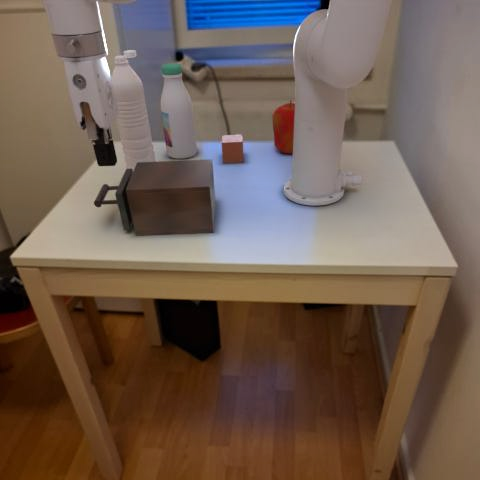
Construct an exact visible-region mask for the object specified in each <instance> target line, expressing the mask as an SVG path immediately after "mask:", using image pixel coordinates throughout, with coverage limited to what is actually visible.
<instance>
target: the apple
mask: <svg viewBox="0 0 480 480" xmlns="http://www.w3.org/2000/svg"><path fill="white" fill-rule="evenodd" d="M294 116H295V102H293V101H292V99H290V101H289V102H288V103H284V104H282V105H280V106H277V107H276V108H275V109H274V111H273V113H272V117H271V118H272V131H273V143H274V144H273V145H274V147H275V148H276V149H277V150H278V151H279V152H280V153H283V154H289V155H291V154H292V155H293V138H294Z"/></svg>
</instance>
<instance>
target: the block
mask: <svg viewBox="0 0 480 480" xmlns="http://www.w3.org/2000/svg"><path fill="white" fill-rule="evenodd" d="M243 137H244V135H243V134H222V135H221V155H222V164H243V163H244V138H243Z"/></svg>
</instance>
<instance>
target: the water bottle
mask: <svg viewBox="0 0 480 480" xmlns="http://www.w3.org/2000/svg"><path fill="white" fill-rule="evenodd" d="M122 53H123V55H116V56H114V65H115V66H114V67H113V71H112V74H111V79H112V83H113V87H114V92H115V96H116V100H117V105H118V109H119V113H118V115H117V117H116V119H115V120H116V124H117V128H118V134H119V137H120V143H121V146H122V153H123V154H124V155H123V156H124V160H125V163H126V164H125V165H126V169H132V170H133V171H134V169H135V166H136V164H137V162H157V161H156V156H155V155H156V154H155V150H154V145H153V137H152V134H151V126H150V122H149V115H148V110H147V104H146V103H147V102H146V97H145V90H144V85H143V81H142V80H141V78H140V77H139V75H138V74H137V73H136V72H135V70H134V69H133V68H132V67H131V65H130V64H129V62H130V61H129V60H128V59H130V58H131V59H132V58H136V57H137V56H138V55H137V51H136V50H135V49H127V50H124V51H122Z"/></svg>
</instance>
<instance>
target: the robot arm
mask: <svg viewBox="0 0 480 480" xmlns="http://www.w3.org/2000/svg"><path fill="white" fill-rule="evenodd" d="M136 1H137V0H42V3H43V6H44V11H45V14H46V17H47V21H48V26H49V30H50V33H51V37H52V41H53V45H54V49H55V52H56V56H57V59H58V60H59V61H61V62H63V66H64V73H65V77H66V82H67V88H68V93H69V97H70V101H71V107H72V110H73V113H74V117H75V120H76V123H77V126H78V128H79V129H80V130H82V131H85V130H86V134H87V138H88V140H89V141H91V144H92V147H93V151H94V156H95V159H96V160H95V161H96V164H97V166H98V167H115V166H116V165H117V163H118V158H117V153H116V148H115V143H114V140H113V133H112V125H113V124H114V122H115V121H116V120H117V119H116V117H117V115H118V113H119V109H118V105H117V100H116V96H115V92H114V87H113V83H112V79H111V76H112V74H111V71H110V68H109V64H108V61H107V58H106V57H107V56H109V52H108V47H107V43H106V37H105V32H104V27H103V21H102V17H101V12H100V6H99V3H107V4H108V3H109V4H117V5H128V4H132V3H134V2H136ZM392 3H393V0H329V5H328V9H326V8H324V9H318V10H315V11H314V12H311V13H310V14H308V15H307V17H305V18H304V19H303V21H302V22H301V23H300V25H299V26H298V29H297V30H296V34H295V36H294V40H293V41H294V42H293V49H292V50H293V56H292V58H293V71H294V72H293V73H294V88H295V89H294V90H295V91H294V93H295V94H294V104H295V116H294V138H293V153H292V162H291V163H292V165H291V179H289V180H287V182H285V184H284V185H283V194H284V196H285V197H286V198H287V199H288V200H289V201H291V202H293V203H295V204H296V203H297V204H299V205H303V206H311V207H312V206H313V207H315V206H317V207H318V206H327V205H331V204H334V203H336V202H338V201H340V200H341V199H342V198H343V197H344V195H345V188H346V186H361V185H362V181H363V177H362V175H354V172H353V171H345V172H342V171H341V169H340V167H341V159H342V150H343V142H344V141H343V140H344V133H345V124H346V116H347V108H348V96H349V94H348V90H349V89H350V88H354V87H356V86H357V85H359V84H361V83H362V82H363V81H364V80H365V79H366V78H367V77H368V76H369V74H370V73H371V71H372V69H373V67H374V66H375V63H376V60H377V59H378V55H379V52H380V49H381V45H382V42H383V38H384V34H385V31H386V26H387V23H388V19H389V15H390V12H391V7H392Z"/></svg>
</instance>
